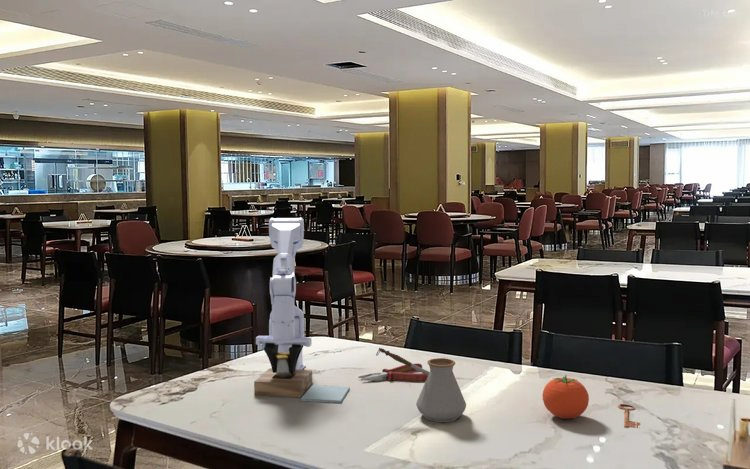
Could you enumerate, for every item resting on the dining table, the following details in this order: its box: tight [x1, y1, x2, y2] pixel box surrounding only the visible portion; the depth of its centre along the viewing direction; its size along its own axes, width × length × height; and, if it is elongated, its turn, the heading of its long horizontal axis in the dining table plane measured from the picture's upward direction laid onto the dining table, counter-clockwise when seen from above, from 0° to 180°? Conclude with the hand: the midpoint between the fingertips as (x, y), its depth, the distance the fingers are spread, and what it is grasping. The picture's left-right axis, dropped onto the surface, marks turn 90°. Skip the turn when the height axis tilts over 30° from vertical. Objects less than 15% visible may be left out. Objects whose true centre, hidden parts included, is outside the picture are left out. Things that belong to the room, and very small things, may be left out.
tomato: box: [541, 374, 590, 420], centre depth 151 cm, size 10×10×10 cm
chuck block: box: [253, 367, 313, 398], centre depth 172 cm, size 12×12×4 cm
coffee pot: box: [375, 347, 467, 423], centre depth 153 cm, size 21×12×15 cm, turn 72°
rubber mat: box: [300, 384, 351, 404], centre depth 168 cm, size 11×10×1 cm
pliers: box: [358, 363, 428, 383], centre depth 182 cm, size 12×20×3 cm, turn 108°
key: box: [617, 403, 641, 429], centre depth 152 cm, size 6×1×15 cm
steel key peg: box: [275, 352, 292, 379], centre depth 172 cm, size 4×4×8 cm
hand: (284, 372), depth 172 cm, fingers closed on steel key peg, 4 cm apart
